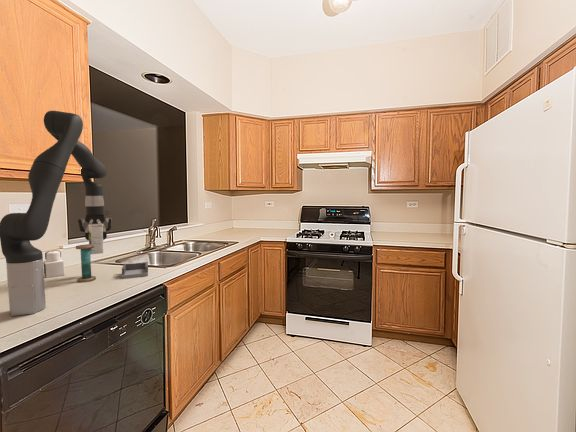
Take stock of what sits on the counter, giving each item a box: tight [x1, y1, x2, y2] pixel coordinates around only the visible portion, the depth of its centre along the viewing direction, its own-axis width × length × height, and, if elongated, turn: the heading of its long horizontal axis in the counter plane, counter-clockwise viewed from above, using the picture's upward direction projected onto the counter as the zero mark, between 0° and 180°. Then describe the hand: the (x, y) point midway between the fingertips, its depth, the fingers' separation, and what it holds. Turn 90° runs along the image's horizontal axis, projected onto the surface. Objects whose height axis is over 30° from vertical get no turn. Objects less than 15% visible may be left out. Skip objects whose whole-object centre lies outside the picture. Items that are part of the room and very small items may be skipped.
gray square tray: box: [121, 261, 149, 279], centre depth 145 cm, size 11×11×4 cm
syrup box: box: [88, 224, 105, 255], centre depth 144 cm, size 6×6×14 cm
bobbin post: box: [75, 243, 97, 283], centre depth 135 cm, size 7×7×16 cm
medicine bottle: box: [43, 250, 66, 279], centre depth 143 cm, size 7×7×12 cm
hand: (96, 239), depth 144 cm, fingers closed on syrup box, 6 cm apart
